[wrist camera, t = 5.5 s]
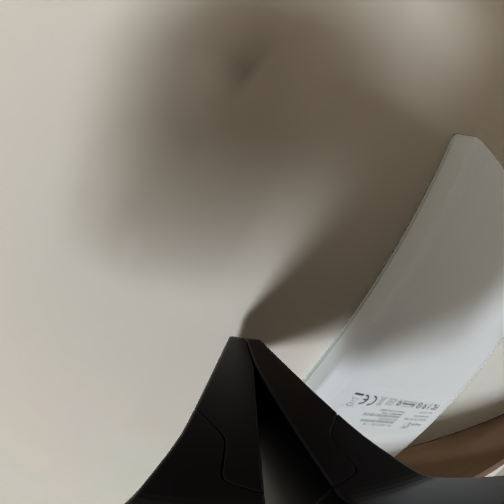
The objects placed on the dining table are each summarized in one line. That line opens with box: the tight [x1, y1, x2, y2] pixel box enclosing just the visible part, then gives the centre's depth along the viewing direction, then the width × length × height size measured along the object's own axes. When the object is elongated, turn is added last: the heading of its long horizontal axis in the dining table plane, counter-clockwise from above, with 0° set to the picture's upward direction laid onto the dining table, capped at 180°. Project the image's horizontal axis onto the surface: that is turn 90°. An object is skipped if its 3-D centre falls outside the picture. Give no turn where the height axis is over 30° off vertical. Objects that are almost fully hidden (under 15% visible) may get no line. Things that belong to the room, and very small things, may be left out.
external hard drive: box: [303, 134, 504, 457], centre depth 10 cm, size 2×8×12 cm
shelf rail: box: [394, 414, 504, 478], centre depth 12 cm, size 2×31×4 cm, turn 76°
